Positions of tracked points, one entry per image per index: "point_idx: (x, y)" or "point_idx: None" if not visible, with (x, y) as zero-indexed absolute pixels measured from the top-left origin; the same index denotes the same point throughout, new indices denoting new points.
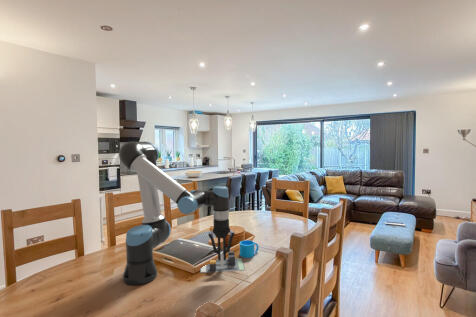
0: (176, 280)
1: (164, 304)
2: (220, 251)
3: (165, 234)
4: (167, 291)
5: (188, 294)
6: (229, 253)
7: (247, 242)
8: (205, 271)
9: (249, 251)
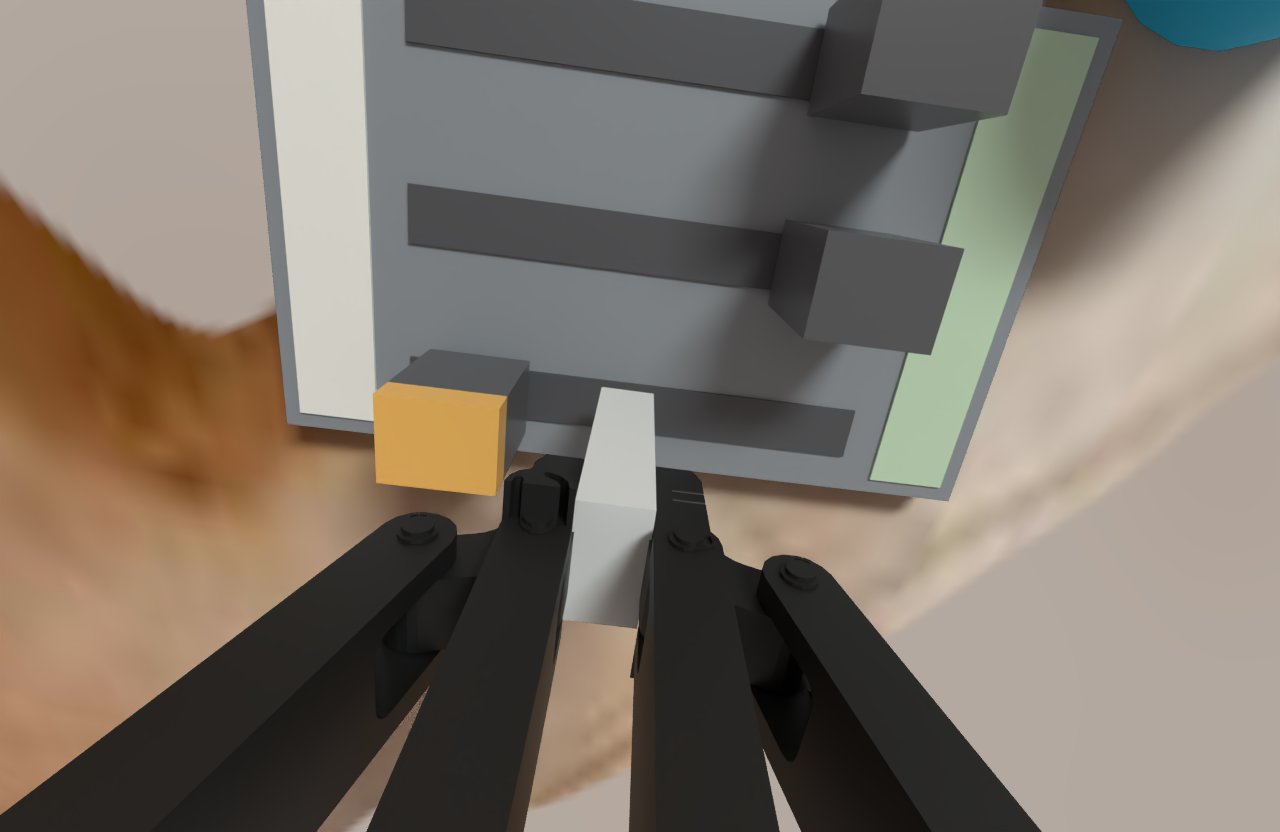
0: (17, 450)
1: None
2: (555, 663)
3: None
4: (4, 638)
5: None
6: (880, 98)
7: None
8: (367, 413)
9: None
